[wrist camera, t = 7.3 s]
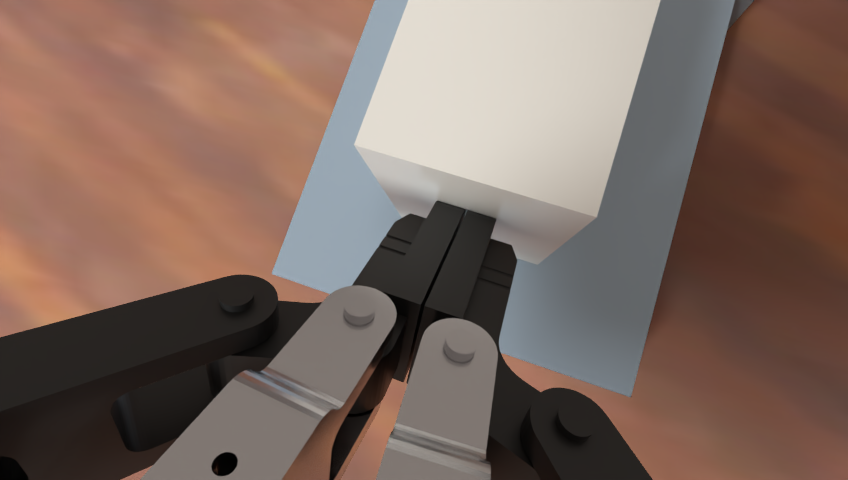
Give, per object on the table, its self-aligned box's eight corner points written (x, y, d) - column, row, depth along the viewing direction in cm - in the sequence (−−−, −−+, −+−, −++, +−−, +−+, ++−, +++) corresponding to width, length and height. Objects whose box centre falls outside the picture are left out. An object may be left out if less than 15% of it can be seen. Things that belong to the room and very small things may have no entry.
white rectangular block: (405, 222, 15) (354, 145, 9) (496, -36, 17) (515, -284, 10) (537, 265, 15) (596, 217, 8) (620, -8, 16) (734, -252, 9)
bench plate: (302, 280, 18) (271, 273, 16) (414, -22, 20) (405, -80, 17) (602, 383, 17) (630, 397, 14) (694, 42, 19) (737, -10, 16)
